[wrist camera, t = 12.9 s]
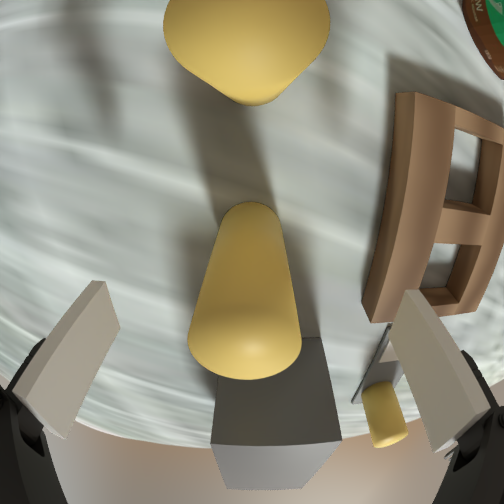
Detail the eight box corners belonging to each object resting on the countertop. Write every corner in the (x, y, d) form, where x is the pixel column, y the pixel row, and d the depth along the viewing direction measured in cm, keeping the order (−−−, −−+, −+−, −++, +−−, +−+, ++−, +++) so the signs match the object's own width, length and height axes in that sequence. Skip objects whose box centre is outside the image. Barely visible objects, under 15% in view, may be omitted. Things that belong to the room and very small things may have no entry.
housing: (231, 420, 30) (226, 488, 21) (223, 337, 23) (210, 443, 14) (296, 421, 30) (301, 488, 21) (321, 337, 23) (342, 440, 14)
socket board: (361, 302, 21) (370, 323, 18) (395, 93, 13) (415, 91, 11) (463, 296, 21) (475, 311, 18) (504, 134, 13) (524, 140, 11)
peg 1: (218, 106, 14) (160, 92, 5) (218, 45, 12) (169, -33, 4) (286, 107, 14) (330, 92, 5) (287, 46, 12) (326, -35, 4)
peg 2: (221, 257, 19) (195, 376, 10) (219, 201, 17) (179, 300, 8) (279, 258, 19) (294, 379, 10) (282, 202, 17) (309, 304, 8)
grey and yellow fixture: (351, 401, 28) (362, 452, 22) (387, 327, 22) (415, 390, 16) (386, 396, 28) (400, 443, 22) (428, 322, 22) (460, 378, 15)
